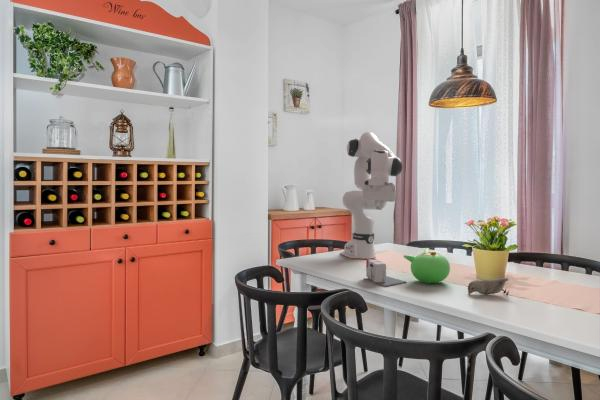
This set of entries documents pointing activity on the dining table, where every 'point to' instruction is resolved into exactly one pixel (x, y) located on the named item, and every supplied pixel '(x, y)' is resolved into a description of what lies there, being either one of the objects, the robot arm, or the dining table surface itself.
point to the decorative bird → (487, 286)
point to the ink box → (376, 270)
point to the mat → (387, 281)
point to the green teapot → (429, 266)
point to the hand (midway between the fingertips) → (378, 209)
